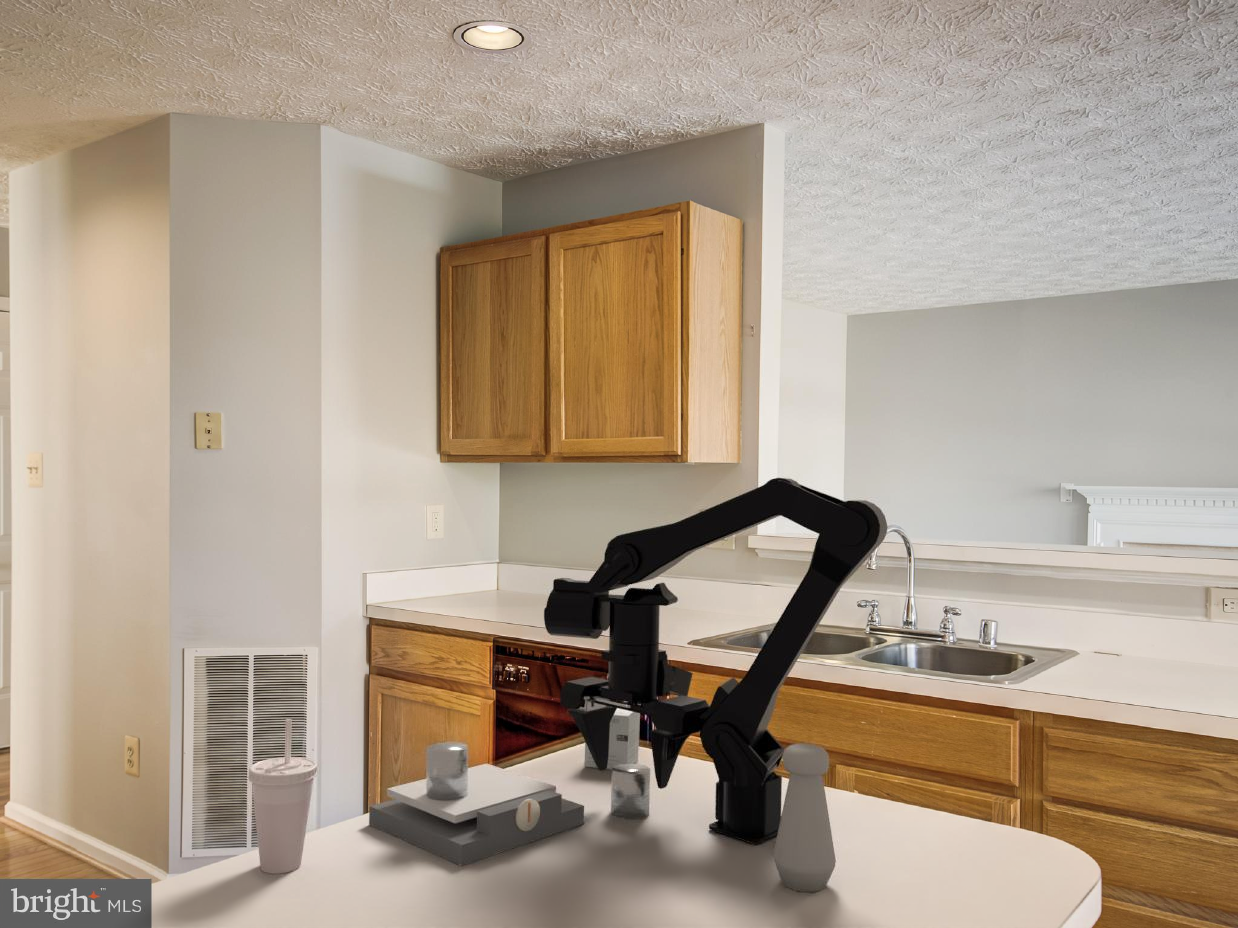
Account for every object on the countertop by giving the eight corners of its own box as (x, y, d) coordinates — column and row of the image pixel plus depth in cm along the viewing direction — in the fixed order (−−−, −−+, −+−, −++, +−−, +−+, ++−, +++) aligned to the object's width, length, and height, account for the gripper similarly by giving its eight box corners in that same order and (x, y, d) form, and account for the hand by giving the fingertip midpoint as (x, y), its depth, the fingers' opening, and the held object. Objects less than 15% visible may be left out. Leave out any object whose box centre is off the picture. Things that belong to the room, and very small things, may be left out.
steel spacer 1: (476, 793, 107) (476, 747, 107) (441, 803, 104) (441, 755, 104) (452, 784, 110) (452, 739, 110) (418, 793, 107) (418, 746, 107)
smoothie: (329, 860, 98) (333, 717, 98) (281, 884, 92) (285, 732, 92) (279, 849, 100) (283, 710, 101) (230, 871, 95) (234, 723, 95)
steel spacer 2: (657, 813, 114) (658, 769, 114) (631, 822, 111) (632, 777, 111) (628, 803, 117) (629, 761, 117) (602, 812, 114) (603, 768, 114)
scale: (586, 824, 109) (587, 782, 109) (463, 866, 97) (464, 819, 97) (490, 790, 120) (491, 752, 121) (369, 824, 108) (370, 781, 108)
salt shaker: (840, 897, 92) (842, 755, 92) (777, 895, 92) (780, 753, 92) (828, 872, 97) (830, 739, 98) (769, 870, 98) (772, 737, 98)
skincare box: (583, 767, 131) (584, 711, 131) (597, 755, 137) (598, 701, 137) (627, 771, 130) (629, 715, 130) (639, 759, 136) (640, 705, 136)
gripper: (741, 644, 114) (739, 781, 113) (621, 626, 126) (619, 749, 126) (680, 655, 105) (677, 803, 105) (558, 635, 118) (555, 767, 118)
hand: (631, 778), depth 114 cm, fingers open, 9 cm apart
